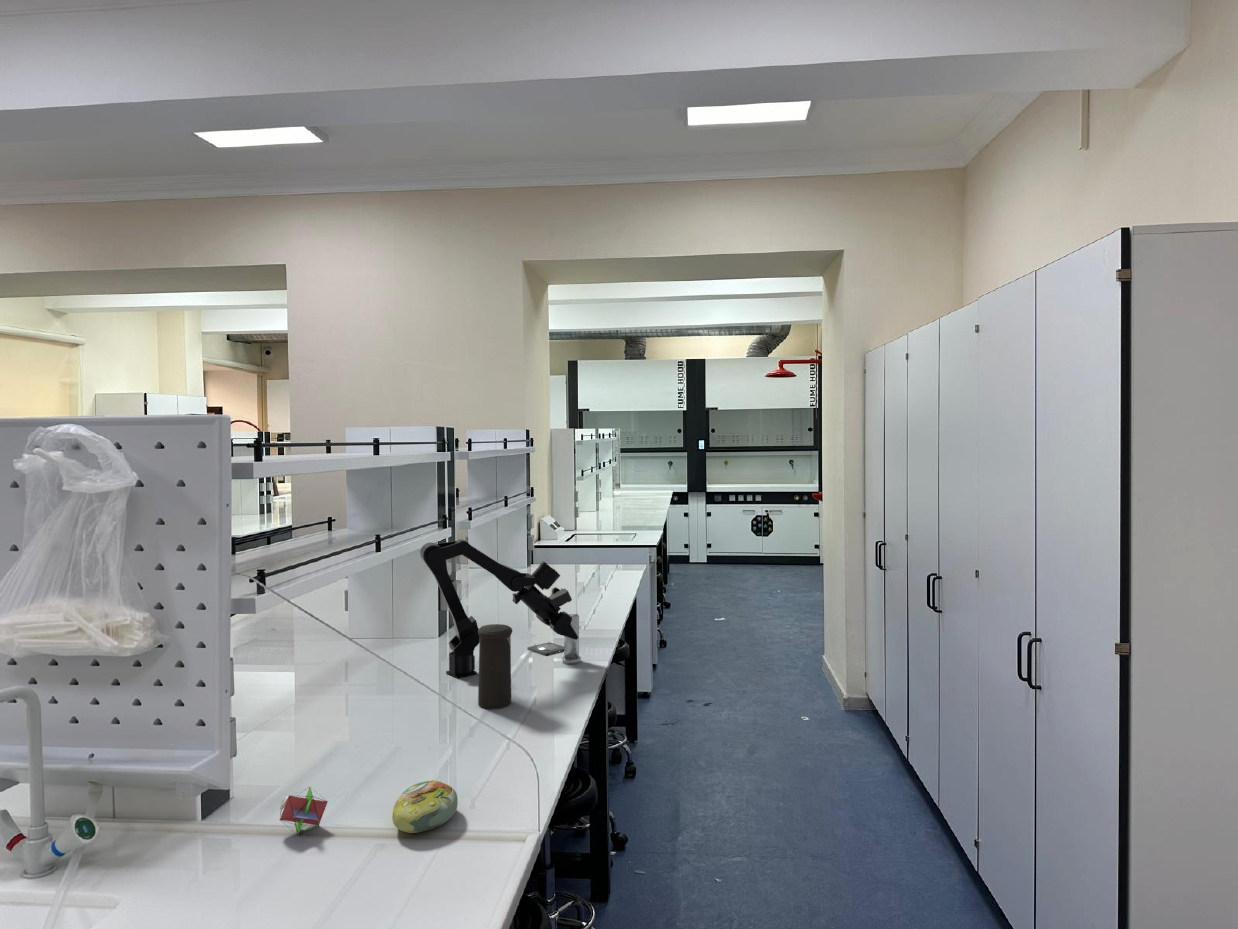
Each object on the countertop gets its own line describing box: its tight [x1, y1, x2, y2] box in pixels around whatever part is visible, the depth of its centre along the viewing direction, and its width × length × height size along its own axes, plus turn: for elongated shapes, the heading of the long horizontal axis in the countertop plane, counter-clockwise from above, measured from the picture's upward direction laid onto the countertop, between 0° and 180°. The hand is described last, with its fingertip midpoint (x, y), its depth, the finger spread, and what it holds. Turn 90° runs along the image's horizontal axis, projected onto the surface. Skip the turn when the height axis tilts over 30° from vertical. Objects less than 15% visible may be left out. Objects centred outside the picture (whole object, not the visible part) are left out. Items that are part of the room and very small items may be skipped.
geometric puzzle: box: [279, 786, 329, 837], centre depth 134 cm, size 7×7×8 cm
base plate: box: [526, 641, 564, 656], centre depth 247 cm, size 9×9×1 cm
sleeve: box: [561, 613, 582, 665], centre depth 234 cm, size 6×6×14 cm
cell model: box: [391, 779, 459, 834], centre depth 138 cm, size 11×8×15 cm
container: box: [477, 623, 513, 710], centre depth 197 cm, size 9×9×20 cm
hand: (572, 634), depth 234 cm, fingers open, 9 cm apart
